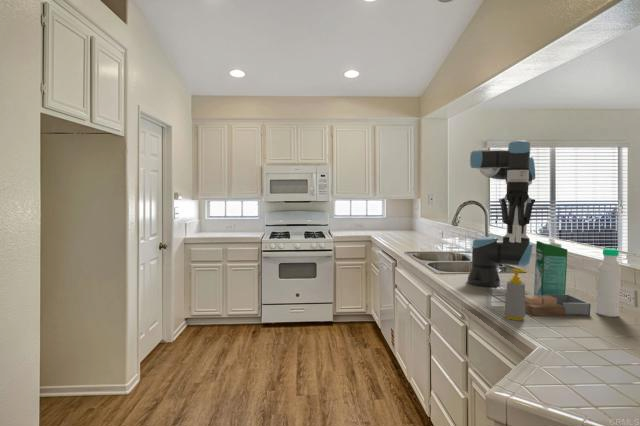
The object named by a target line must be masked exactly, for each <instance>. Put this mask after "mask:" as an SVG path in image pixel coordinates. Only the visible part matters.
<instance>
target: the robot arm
mask: <svg viewBox="0 0 640 426" xmlns="http://www.w3.org/2000/svg"><path fill="white" fill-rule="evenodd" d="M469 158H470V159H469V162H470V168H471V169H479V172H480V173H481V174H482V175H483V176H484V177H486V178H489V179H493V180H500V181H501V180H502V181H503V180H505V184H506V194H505V196H504V197H502V198H499V199H498V202H499V203H500V208H501V218H502V223H503V224H505V225H506V233H505V235H504V236H503V237H502V240H500V239H499V238H498V237H497V236H483V237H477V238H475V239H473V241H472V247H471V249H472V253H471V254H472V255H471V268H470V271H469V272H468V276H467V283H468V284H470V285H473V286H479V287H488V288H489V287H491V288H492V287H500V285H501V279H500V275H499V272H498V265H506V266H517V267H527V266H528V265H529V264H530V262H531V261H530V260H531V256H532V251H533V246H534V243H533V242H532V241H530V237H529V236H528V235H527V226H528V225H529V224H530V221H531V217H532V210H533V207H534V204H535V202H536V199H534V198H531V197H530V195H529V186H530V185H531V184H532V183H533V180H535V179H536V168H535V167H536V165H535V160H534V158H533V157H532V156H531V142H530V141H528V140H513V141H510V142H509V143H508V148H507V149H487V150H486V149H485V150H484V149H483V150H482V149H478V150H472V151H471V152H470V157H469Z"/></svg>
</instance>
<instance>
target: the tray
mask: <svg viewBox="0 0 640 426" xmlns="http://www.w3.org/2000/svg"><path fill="white" fill-rule="evenodd" d="M544 295H550V296H552V297H554V298H556V299H557V304H558V305H560V306H562V307H564V308H565V316H591V304H592V303H590V302H587V301H586V300H583V299H580V298H578V297H576V296H573V295H570V294H568V293H567V294H566V293H565V294H544Z"/></svg>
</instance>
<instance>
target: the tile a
mask: <svg viewBox="0 0 640 426" xmlns="http://www.w3.org/2000/svg"><path fill="white" fill-rule="evenodd" d="M525 302H527V303H529V304H542V298H540V297H538V296H536V295H534V294H525Z"/></svg>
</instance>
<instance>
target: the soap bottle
mask: <svg viewBox="0 0 640 426" xmlns="http://www.w3.org/2000/svg"><path fill="white" fill-rule="evenodd" d="M511 270H512V271H514V272H513V275H514V276H512V278H510V280H509V281H507V282H506V291H505V301H504V311H503V312H504V313H503V314H504V315H505V317H506V319H509V320H513V321H522V320H524V318H525V317H526V311H525V295H526V289H525V288H526V287H525V285H526V284H525V282H522V280H521V278H520V276H519V273H527V270H521V269H516V268H511Z"/></svg>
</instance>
